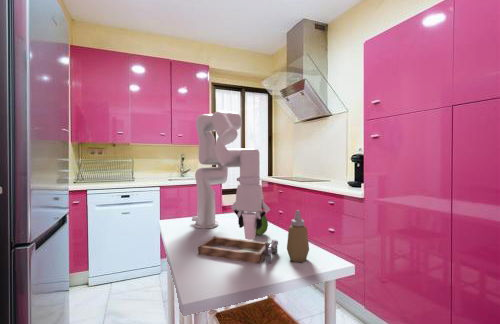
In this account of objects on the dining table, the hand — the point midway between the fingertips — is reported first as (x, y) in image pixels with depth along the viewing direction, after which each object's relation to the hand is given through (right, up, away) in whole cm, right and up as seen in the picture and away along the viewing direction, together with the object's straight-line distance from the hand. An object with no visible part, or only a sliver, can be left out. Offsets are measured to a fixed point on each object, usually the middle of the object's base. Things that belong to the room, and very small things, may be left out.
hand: (250, 227), depth 96 cm
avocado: (+5, -10, +24) cm, 27 cm away
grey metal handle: (+8, -11, -3) cm, 14 cm away
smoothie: (0, -4, 0) cm, 4 cm away
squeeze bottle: (+18, -11, -4) cm, 21 cm away
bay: (-6, -11, +3) cm, 12 cm away
